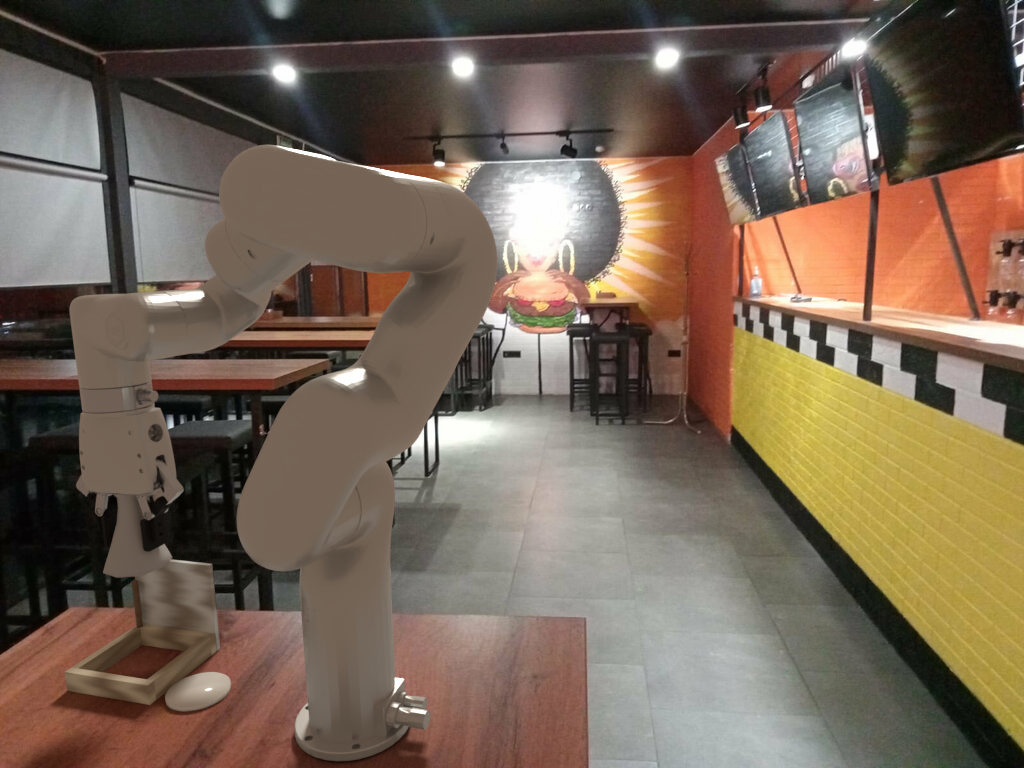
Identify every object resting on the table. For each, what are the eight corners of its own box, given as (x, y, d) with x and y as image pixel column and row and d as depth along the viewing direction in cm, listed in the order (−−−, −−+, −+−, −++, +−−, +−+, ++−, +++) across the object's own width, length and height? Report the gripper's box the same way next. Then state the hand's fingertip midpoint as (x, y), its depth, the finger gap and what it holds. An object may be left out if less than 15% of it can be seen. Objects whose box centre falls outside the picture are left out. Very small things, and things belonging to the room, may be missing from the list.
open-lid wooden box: (220, 648, 96) (212, 563, 94) (149, 704, 84) (139, 609, 82) (145, 637, 99) (135, 555, 97) (67, 690, 87) (54, 598, 85)
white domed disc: (243, 680, 88) (243, 676, 88) (204, 715, 82) (204, 711, 81) (193, 672, 90) (193, 668, 90) (151, 706, 83) (151, 702, 83)
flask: (143, 581, 84) (133, 499, 82) (90, 578, 85) (79, 497, 84) (183, 556, 91) (175, 481, 89) (134, 553, 92) (124, 479, 91)
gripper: (201, 395, 86) (215, 539, 89) (86, 392, 90) (103, 529, 93) (155, 407, 79) (172, 563, 82) (32, 404, 83) (54, 552, 86)
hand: (135, 544), depth 88 cm, fingers closed on flask, 5 cm apart
